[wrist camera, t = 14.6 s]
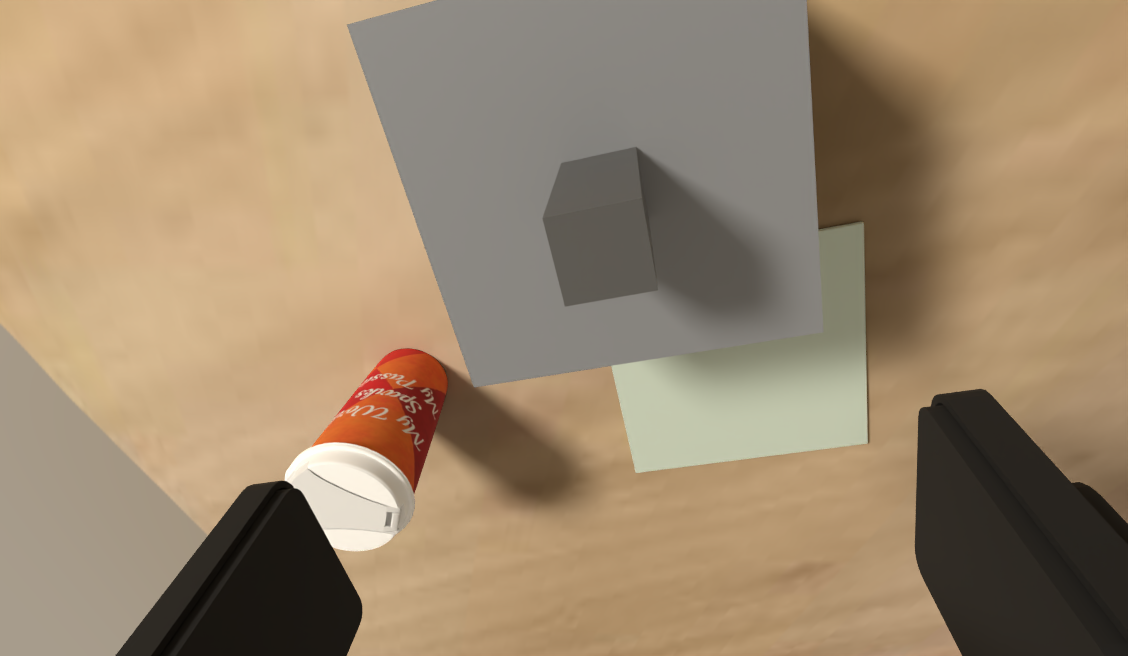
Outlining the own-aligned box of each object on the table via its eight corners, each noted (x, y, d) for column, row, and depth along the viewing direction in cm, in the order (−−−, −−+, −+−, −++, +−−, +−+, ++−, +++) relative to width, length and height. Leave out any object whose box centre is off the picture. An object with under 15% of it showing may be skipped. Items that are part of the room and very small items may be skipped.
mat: (861, 221, 43) (863, 223, 43) (865, 440, 51) (867, 443, 51) (590, 271, 46) (590, 273, 46) (635, 469, 55) (635, 472, 54)
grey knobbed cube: (722, -59, 36) (880, -141, 14) (749, 209, 43) (882, 429, 21) (456, 12, 39) (248, 35, 17) (523, 253, 46) (436, 487, 24)
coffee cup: (469, 349, 50) (415, 476, 37) (454, 429, 54) (400, 569, 41) (366, 324, 50) (275, 443, 37) (358, 406, 54) (273, 540, 41)
